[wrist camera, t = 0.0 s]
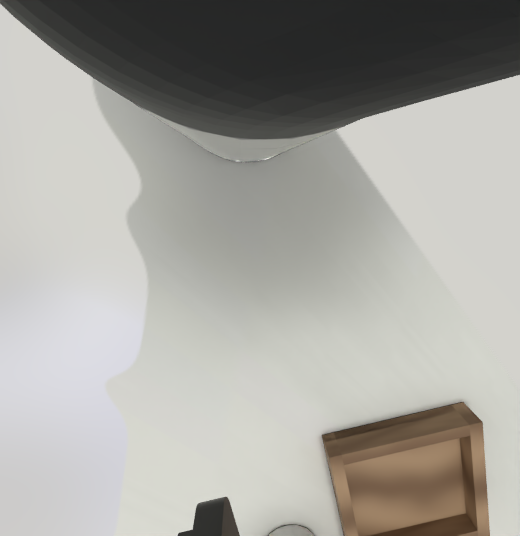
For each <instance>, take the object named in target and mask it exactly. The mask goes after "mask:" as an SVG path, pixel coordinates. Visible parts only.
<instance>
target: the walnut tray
mask: <svg viewBox="0 0 520 536" xmlns="http://www.w3.org/2000/svg"><path fill="white" fill-rule="evenodd" d="M322 438H323V442H324V447H325V452H326V456H327V461H328V465H329V470H330V474H331V479H332V483H333V488H334V492H335V497H336V502H337V506H338V511H339V515H340V520H341V524H342V529H343V533H344V536H490V530H489V515H488V499H487V484H486V469H485V454H484V439H483V423H482V421H481V420H480V419H479V418H478V417H477V416H476V415H475V414H474V413H473V412H472V411H471V410H470V409H469V408H468V407H467V406H466V405H465V403H464V402H461V403H457V404H453V405H449V406H444V407H440V408H436V409H432V410H427V411H423V412H419V413H415V414H410V415H406V416H402V417H398V418H393V419H389V420H385V421H381V422H376V423H372V424H368V425H364V426H359V427H355V428H351V429H347V430H342V431H338V432H334V433H330V434H325V435H322Z"/></svg>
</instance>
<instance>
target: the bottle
mask: <svg viewBox="0 0 520 536" xmlns="http://www.w3.org/2000/svg"><path fill="white" fill-rule="evenodd" d="M269 536H314V535H313V533H311V532H310V531H309V530H308V529H307V528H305V527H301V526H298V525H286V526H283V527H280V528H277V529H276V530H274V531H273V532H272V533H270V534H269Z"/></svg>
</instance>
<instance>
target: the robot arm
mask: <svg viewBox="0 0 520 536" xmlns="http://www.w3.org/2000/svg"><path fill="white" fill-rule="evenodd" d="M0 4H2V6H4V7H5V8H6V9H7V10H8V11H9V12H10V13H11V14H12V15H13V16H14V17H15V18H16V19H17V20H19V21H20V22H21V23H22V24H23V25H25V26H26V27H27V28H28V29H30V30H31V31H32V32H33V33H35V34H36V35H37V36H38V37H39V38H40V39H41V40H43V41H44V42H45V43H46V44H48V45H49V46H50V47H51V48H53V49H54V50H55V51H57V52H58V53H59V54H60V55H62V56H63V57H64V58H66V59H67V60H69V61H70V62H72V63H73V64H74V65H76V66H77V67H79V68H80V69H82V70H83V71H84V72H86V73H87V74H89V75H90V76H92V77H93V78H94V79H96V80H98V81H99V82H101V83H102V84H104V85H105V86H107V87H109V88H110V89H112V90H113V91H115V92H117V93H118V94H120V95H121V96H123V97H125V98H127V99H128V100H130V101H131V102H133V103H134V104H136V105H137V106H138V107H140V108H142V109H143V110H145V111H146V112H148V113H149V114H151V115H153V116H154V117H156V118H157V119H159V120H160V121H162V122H164V123H165V124H167V125H168V126H170V127H172V128H174V129H175V130H177V131H178V132H180V133H181V134H183V135H185V136H186V137H188V138H189V139H191V140H192V141H194V142H195V143H197V144H198V145H200V146H201V147H203V148H204V149H206V150H208V151H210V152H211V153H213V154H215V155H217V156H219V157H222V158H225V159H227V160H231V161H236V162H239V161H240V162H257V161H262V160H266V159H269V158H272V157H275V156H277V155H279V154H281V153H283V152H285V151H287V150H289V149H292V148H294V147H297V146H299V145H301V144H304V143H306V142H308V141H311V140H313V139H315V138H318V137H320V136H322V135H325V134H327V133H329V132H332V131H334V130H337V129H339V128H341V127H344V126H346V125H348V124H350V123H353V122H355V121H357V120H360V119H362V118H365V117H368V116H372V115H375V114H379V113H383V112H386V111H389V110H393V109H397V108H400V107H403V106H407V105H411V104H414V103H418V102H421V101H424V100H428V99H432V98H435V97H440V96H443V95H447V94H451V93H454V92H458V91H462V90H465V89H469V88H472V87H476V86H480V85H484V84H487V83H491V82H494V81H498V80H502V79H506V78H509V77H513V76H516V75H520V0H0ZM178 536H240V535H239V532H238V529H237V525H236V522H235V519H234V515H233V512H232V509H231V505H230V502H229V500H228V498H227V497H223V498H219V499H214V500H210V501H206V502H201V503H198V505H197V507H196V513H195V519H194V525H193V530H190V531H185V532H181V533H179V534H178Z"/></svg>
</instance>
